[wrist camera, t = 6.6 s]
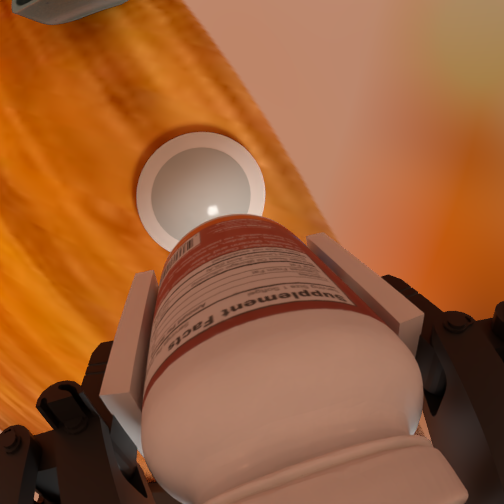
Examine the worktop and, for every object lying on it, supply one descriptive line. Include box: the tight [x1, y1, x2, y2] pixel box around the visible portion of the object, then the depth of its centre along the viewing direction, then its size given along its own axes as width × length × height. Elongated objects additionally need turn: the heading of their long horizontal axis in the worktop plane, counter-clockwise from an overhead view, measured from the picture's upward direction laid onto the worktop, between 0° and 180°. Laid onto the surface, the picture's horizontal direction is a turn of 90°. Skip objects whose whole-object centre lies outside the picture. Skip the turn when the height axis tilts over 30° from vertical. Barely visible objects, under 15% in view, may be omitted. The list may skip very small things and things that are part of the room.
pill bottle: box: [141, 214, 469, 504], centre depth 8 cm, size 6×6×11 cm
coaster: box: [136, 132, 265, 252], centre depth 26 cm, size 11×11×1 cm
